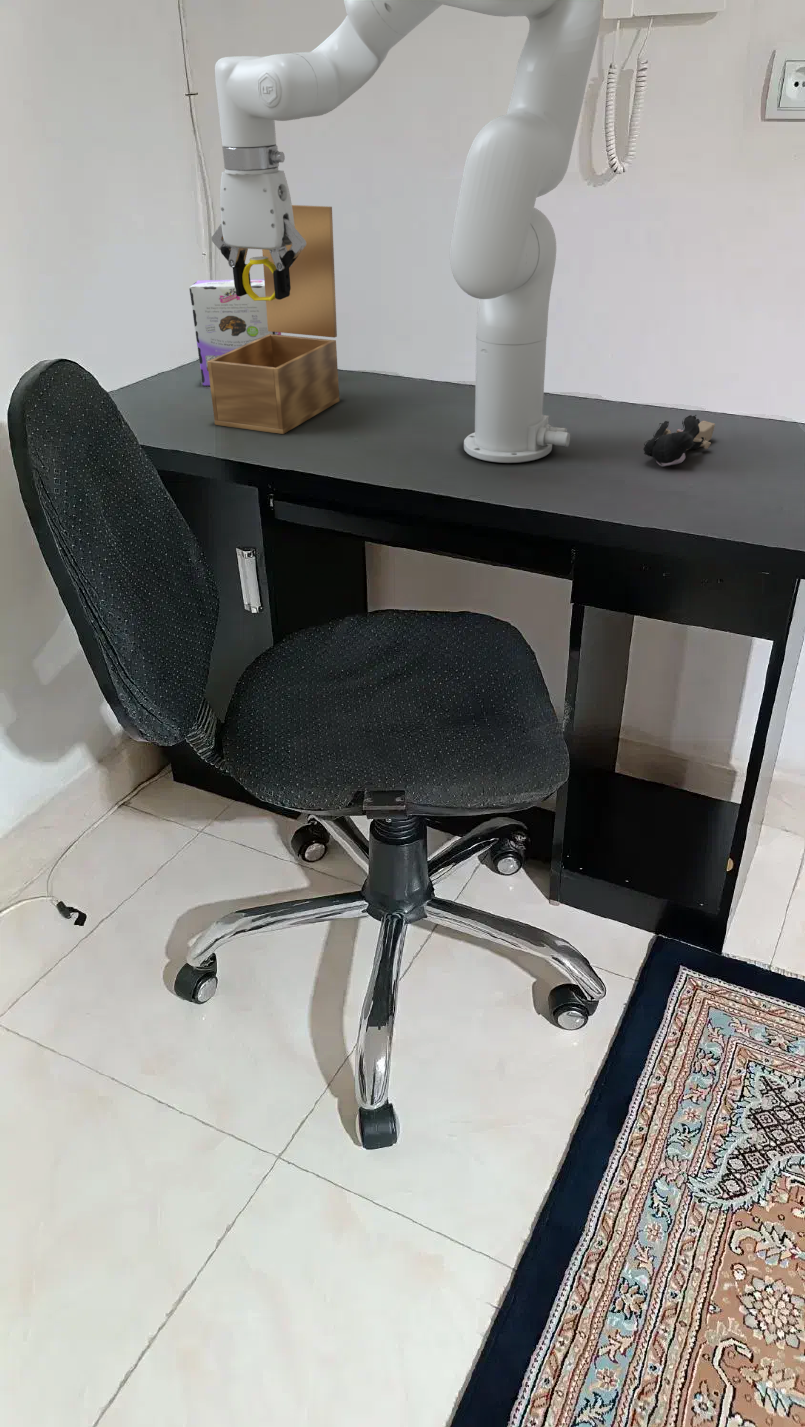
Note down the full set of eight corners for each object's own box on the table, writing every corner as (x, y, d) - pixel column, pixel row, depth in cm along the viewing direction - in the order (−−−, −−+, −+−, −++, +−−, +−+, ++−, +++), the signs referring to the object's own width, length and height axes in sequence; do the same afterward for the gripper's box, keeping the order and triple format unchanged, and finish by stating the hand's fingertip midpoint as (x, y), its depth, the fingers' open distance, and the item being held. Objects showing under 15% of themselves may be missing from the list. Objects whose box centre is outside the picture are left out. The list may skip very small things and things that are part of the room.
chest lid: (329, 207, 155) (346, 203, 159) (258, 204, 160) (276, 201, 164) (334, 337, 165) (350, 331, 169) (267, 331, 170) (284, 325, 174)
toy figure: (668, 436, 153) (635, 463, 142) (679, 393, 150) (646, 418, 138) (715, 449, 151) (686, 477, 139) (727, 406, 147) (698, 432, 136)
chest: (283, 434, 157) (277, 369, 152) (214, 424, 162) (206, 361, 157) (339, 401, 171) (336, 340, 166) (274, 393, 176) (269, 333, 170)
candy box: (286, 377, 184) (277, 277, 175) (279, 386, 179) (270, 284, 170) (209, 376, 185) (197, 278, 176) (201, 386, 180) (188, 285, 171)
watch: (285, 299, 156) (282, 257, 153) (276, 303, 154) (273, 260, 151) (251, 297, 158) (247, 255, 155) (241, 301, 156) (237, 258, 153)
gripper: (317, 159, 145) (326, 295, 155) (214, 156, 152) (228, 287, 162) (290, 164, 140) (300, 305, 150) (184, 162, 146) (200, 297, 156)
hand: (263, 295), depth 156 cm, fingers closed on watch, 6 cm apart
